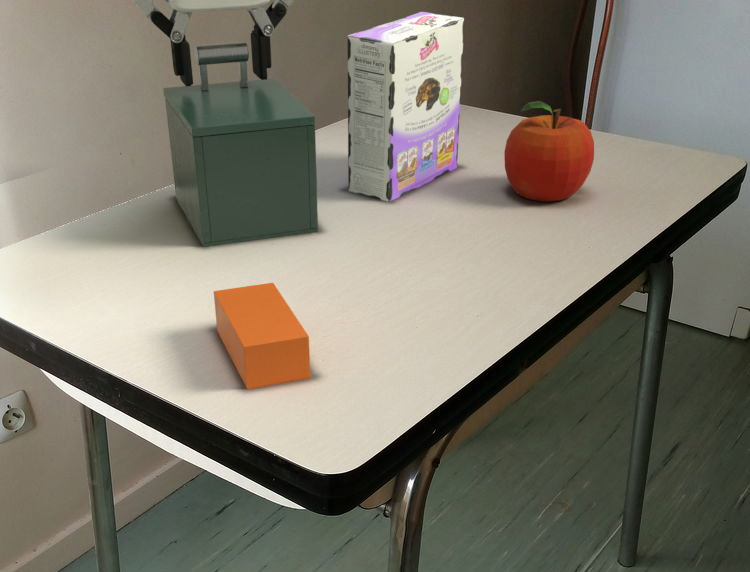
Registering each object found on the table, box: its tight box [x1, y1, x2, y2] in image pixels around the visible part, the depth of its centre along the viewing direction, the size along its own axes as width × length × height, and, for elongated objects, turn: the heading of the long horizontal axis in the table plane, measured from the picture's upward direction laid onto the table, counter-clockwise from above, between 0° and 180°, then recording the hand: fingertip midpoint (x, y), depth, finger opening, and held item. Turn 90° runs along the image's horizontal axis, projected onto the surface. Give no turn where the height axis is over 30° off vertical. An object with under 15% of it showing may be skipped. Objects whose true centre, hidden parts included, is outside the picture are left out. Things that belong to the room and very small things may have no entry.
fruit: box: [503, 100, 595, 203], centre depth 107 cm, size 10×10×10 cm
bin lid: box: [162, 41, 316, 137], centre depth 96 cm, size 14×12×5 cm
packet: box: [213, 282, 311, 390], centre depth 79 cm, size 5×10×4 cm, turn 20°
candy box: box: [347, 11, 465, 202], centre depth 108 cm, size 14×6×16 cm, turn 144°
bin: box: [164, 97, 319, 248], centre depth 101 cm, size 14×12×11 cm
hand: (223, 78), depth 100 cm, fingers open, 6 cm apart
